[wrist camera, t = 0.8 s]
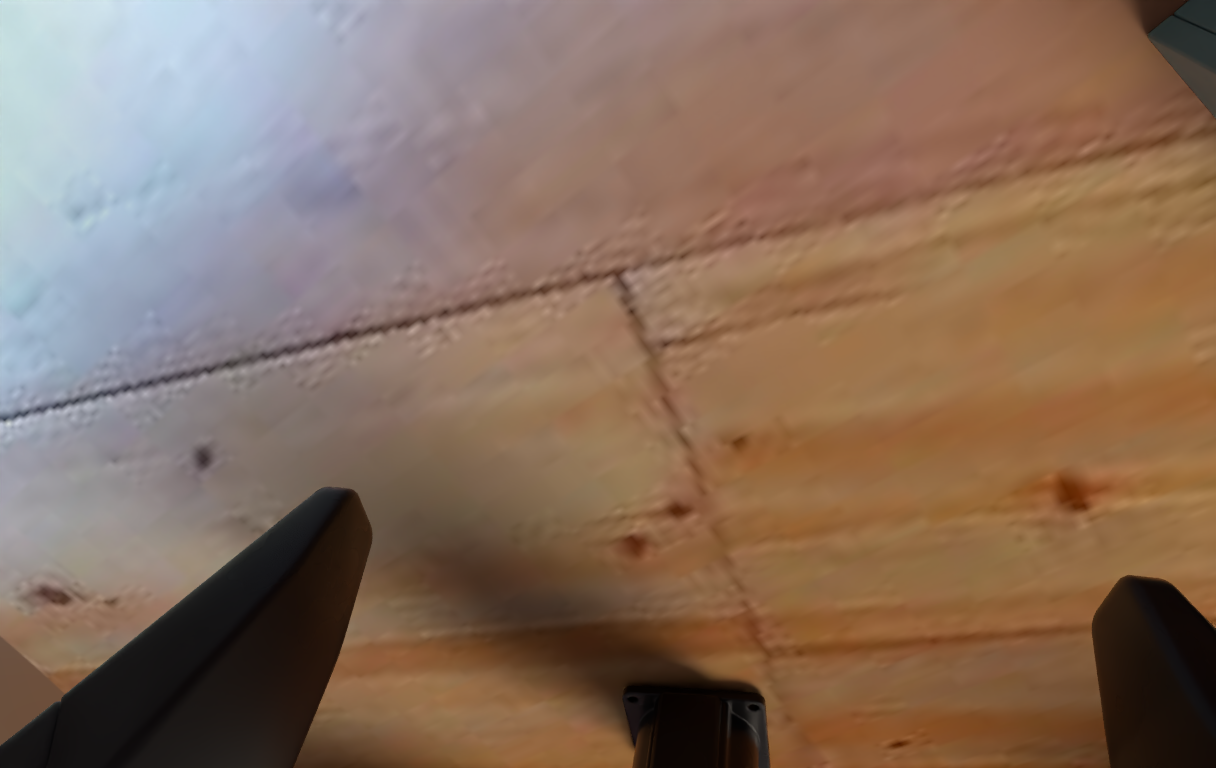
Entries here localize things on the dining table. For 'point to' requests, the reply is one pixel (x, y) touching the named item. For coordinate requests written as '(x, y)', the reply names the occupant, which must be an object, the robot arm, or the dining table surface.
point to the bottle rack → (1191, 47)
